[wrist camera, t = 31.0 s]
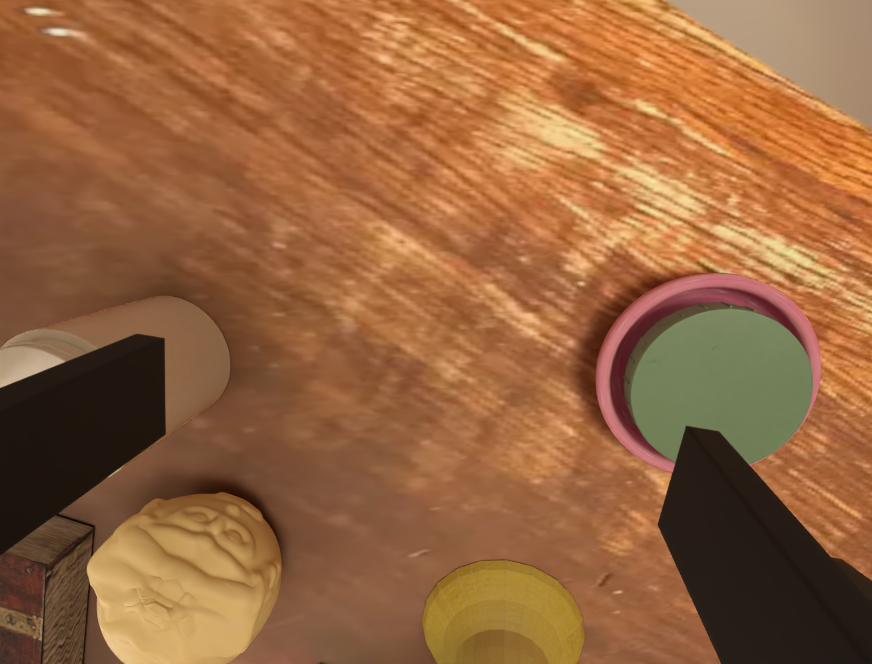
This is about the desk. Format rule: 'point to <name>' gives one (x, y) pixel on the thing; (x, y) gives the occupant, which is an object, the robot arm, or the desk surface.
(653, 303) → the saucer
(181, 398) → the jar
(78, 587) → the book
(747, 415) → the lid
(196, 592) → the sculpture
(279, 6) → the desk surface
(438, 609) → the handbell
